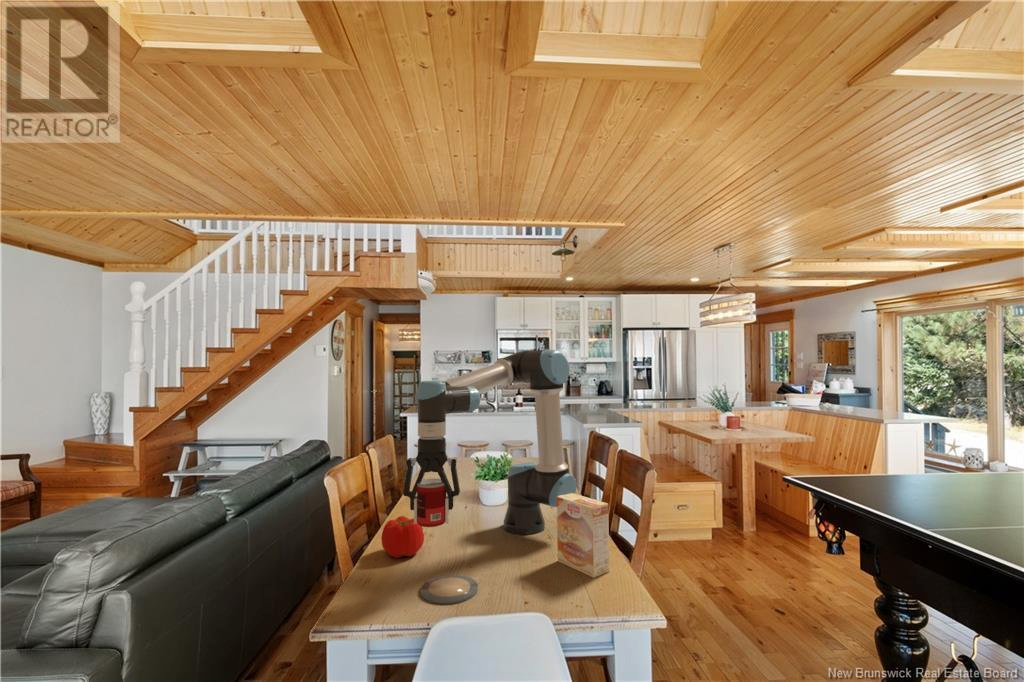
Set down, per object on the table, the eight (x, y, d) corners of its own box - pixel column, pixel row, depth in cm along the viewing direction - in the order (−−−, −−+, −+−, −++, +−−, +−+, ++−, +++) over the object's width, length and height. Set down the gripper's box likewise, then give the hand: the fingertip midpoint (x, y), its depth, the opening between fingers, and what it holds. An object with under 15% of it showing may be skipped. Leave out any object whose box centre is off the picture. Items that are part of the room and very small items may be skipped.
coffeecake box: (556, 561, 146) (555, 496, 147) (573, 555, 150) (572, 492, 151) (593, 578, 134) (592, 507, 135) (610, 571, 138) (609, 502, 139)
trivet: (478, 577, 135) (478, 573, 135) (476, 603, 120) (476, 599, 120) (424, 578, 135) (424, 575, 135) (416, 605, 120) (416, 601, 120)
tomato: (424, 560, 147) (424, 525, 148) (380, 564, 145) (380, 528, 145) (423, 544, 161) (423, 512, 161) (382, 547, 158) (382, 514, 158)
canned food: (451, 519, 133) (451, 479, 134) (436, 529, 126) (436, 486, 126) (427, 516, 136) (427, 477, 137) (411, 525, 129) (411, 484, 129)
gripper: (390, 439, 128) (390, 526, 127) (468, 438, 128) (468, 525, 127) (397, 435, 136) (397, 517, 135) (470, 434, 136) (470, 516, 135)
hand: (431, 521), depth 131 cm, fingers closed on canned food, 8 cm apart
